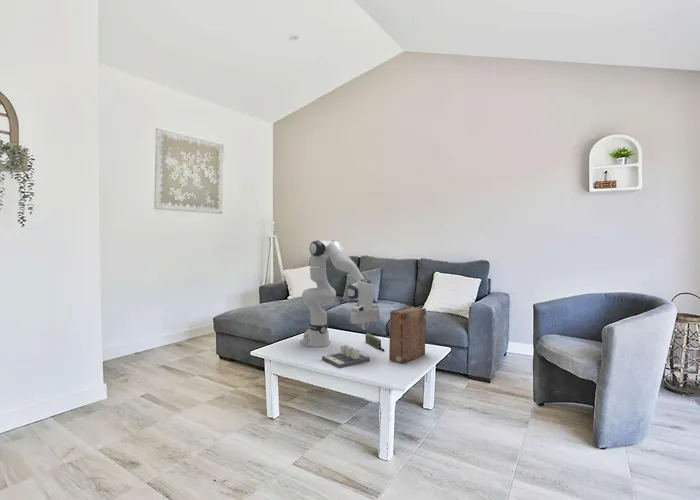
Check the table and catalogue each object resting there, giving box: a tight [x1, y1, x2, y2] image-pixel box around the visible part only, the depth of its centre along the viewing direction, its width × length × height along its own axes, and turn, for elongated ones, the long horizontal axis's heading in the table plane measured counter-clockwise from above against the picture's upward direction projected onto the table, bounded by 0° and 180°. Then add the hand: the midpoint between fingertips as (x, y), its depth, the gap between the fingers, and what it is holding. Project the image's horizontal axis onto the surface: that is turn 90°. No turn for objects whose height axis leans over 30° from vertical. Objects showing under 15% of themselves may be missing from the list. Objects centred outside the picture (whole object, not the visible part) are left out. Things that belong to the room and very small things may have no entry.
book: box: [388, 305, 427, 365], centre depth 239 cm, size 25×9×30 cm, turn 137°
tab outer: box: [351, 348, 361, 360], centre depth 229 cm, size 3×4×5 cm
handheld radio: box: [365, 332, 385, 352], centre depth 261 cm, size 7×3×25 cm
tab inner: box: [340, 344, 349, 355], centre depth 238 cm, size 3×4×5 cm
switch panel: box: [321, 352, 370, 369], centre depth 232 cm, size 18×22×2 cm
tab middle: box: [346, 346, 355, 357], centre depth 233 cm, size 3×4×5 cm
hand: (365, 329), depth 233 cm, fingers closed
